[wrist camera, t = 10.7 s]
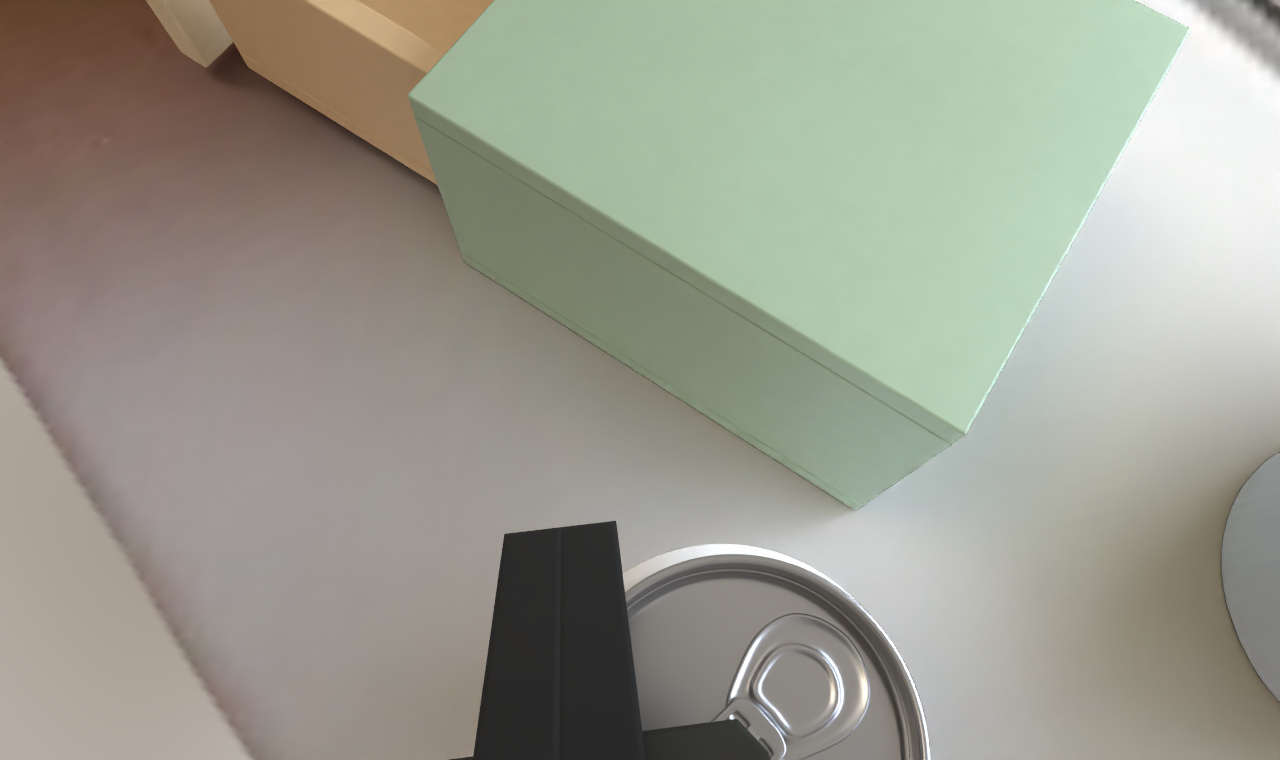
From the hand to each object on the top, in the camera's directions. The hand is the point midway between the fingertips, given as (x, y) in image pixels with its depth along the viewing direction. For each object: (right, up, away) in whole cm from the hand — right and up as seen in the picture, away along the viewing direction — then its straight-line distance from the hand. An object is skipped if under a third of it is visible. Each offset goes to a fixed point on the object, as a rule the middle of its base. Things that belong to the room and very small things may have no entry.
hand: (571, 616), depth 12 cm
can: (+2, -6, +12) cm, 14 cm away
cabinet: (+5, +8, +17) cm, 20 cm away
